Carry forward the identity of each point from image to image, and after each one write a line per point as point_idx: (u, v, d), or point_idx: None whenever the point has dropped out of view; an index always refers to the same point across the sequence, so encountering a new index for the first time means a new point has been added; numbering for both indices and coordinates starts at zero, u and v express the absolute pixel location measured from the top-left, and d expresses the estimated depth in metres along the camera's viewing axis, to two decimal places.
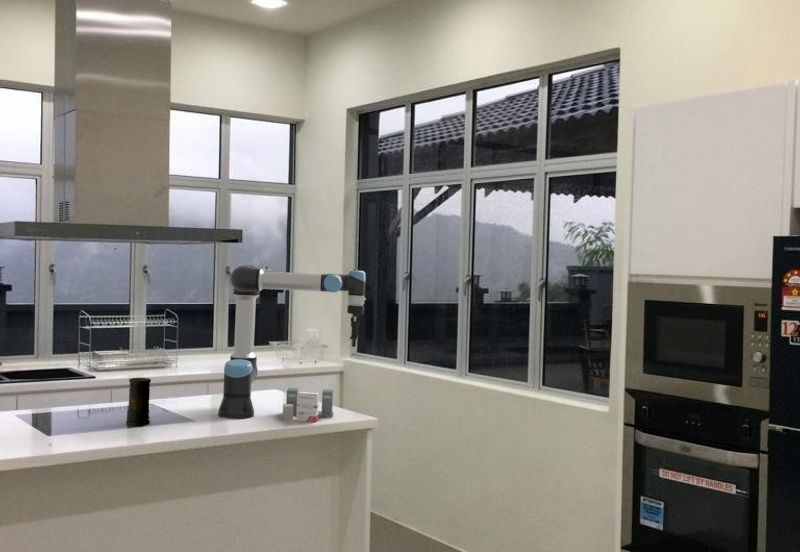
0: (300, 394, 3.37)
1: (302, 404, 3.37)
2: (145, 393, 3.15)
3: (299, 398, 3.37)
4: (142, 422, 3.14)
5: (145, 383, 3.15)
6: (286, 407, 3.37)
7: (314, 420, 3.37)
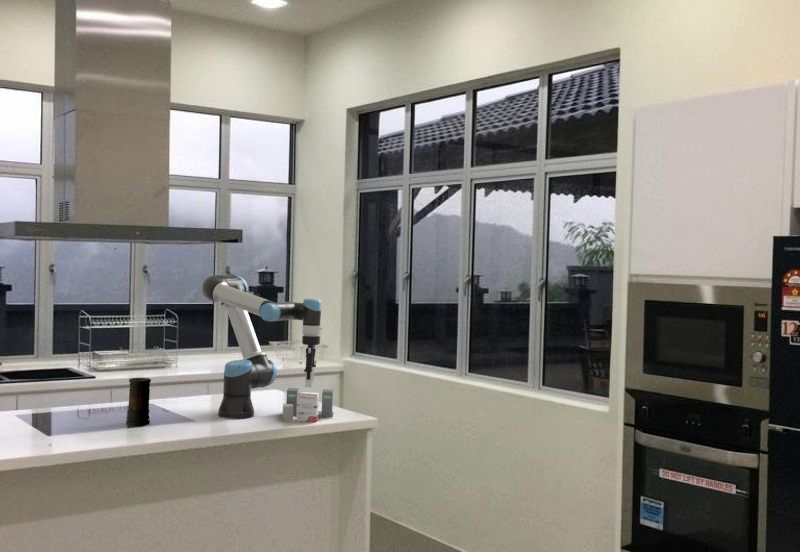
0: (300, 394, 3.37)
1: (302, 404, 3.37)
2: (145, 393, 3.15)
3: (299, 398, 3.37)
4: (142, 422, 3.14)
5: (145, 383, 3.15)
6: (286, 407, 3.37)
7: (314, 420, 3.37)
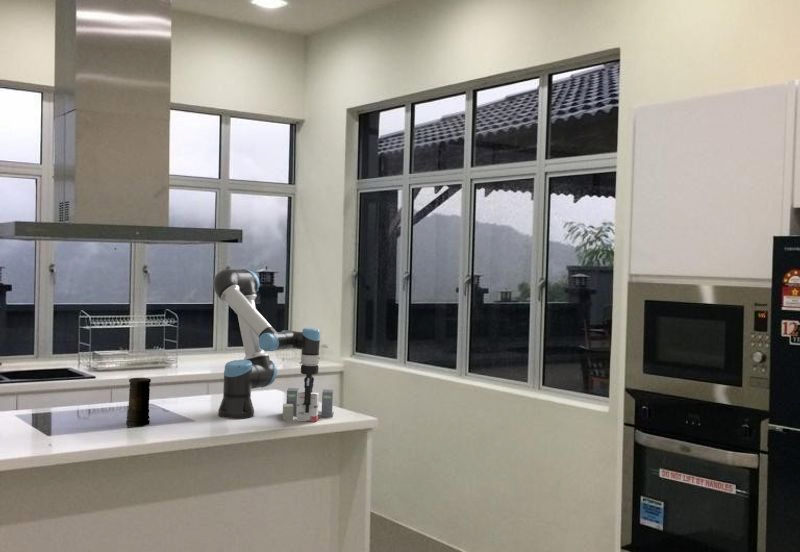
0: (300, 394, 3.37)
1: (302, 404, 3.37)
2: (145, 393, 3.15)
3: (299, 398, 3.37)
4: (142, 422, 3.14)
5: (145, 383, 3.15)
6: (286, 407, 3.37)
7: (314, 420, 3.37)
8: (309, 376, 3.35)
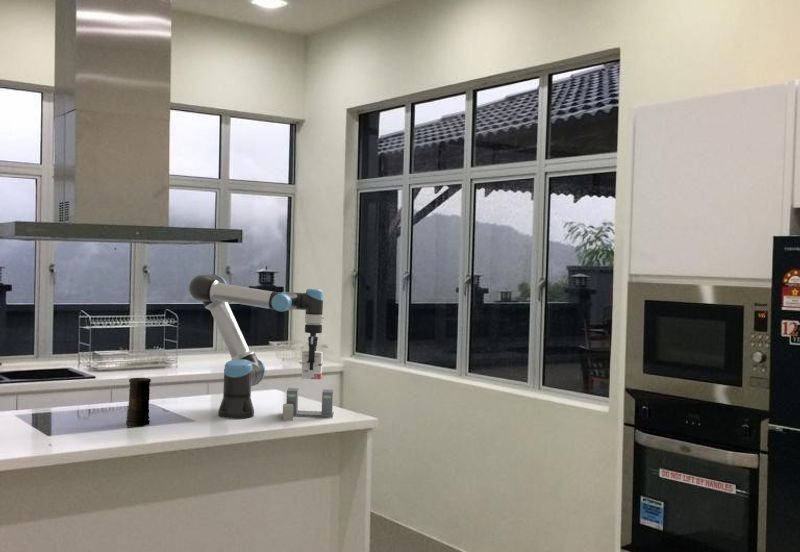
0: (305, 353, 3.48)
1: (307, 363, 3.48)
2: (145, 393, 3.15)
3: (304, 356, 3.48)
4: (142, 422, 3.14)
5: (145, 383, 3.15)
6: (286, 407, 3.37)
7: (319, 377, 3.48)
8: (313, 335, 3.46)
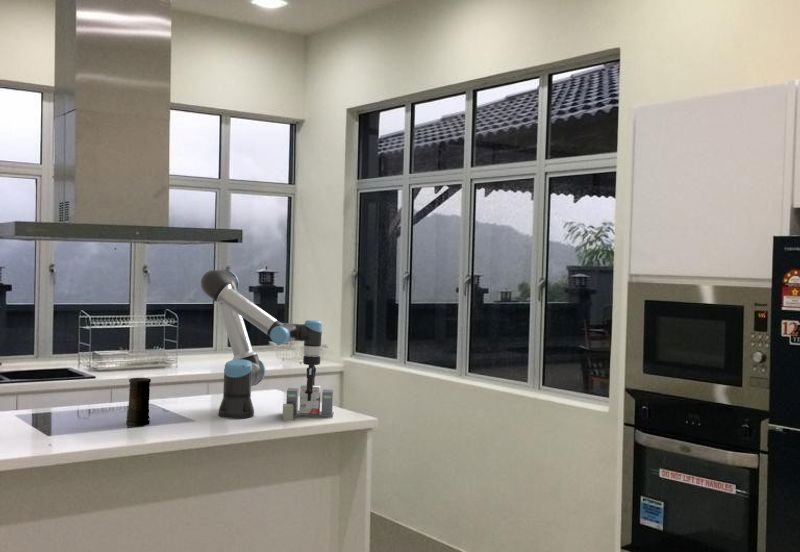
0: (303, 387, 3.49)
1: (305, 397, 3.49)
2: (145, 393, 3.15)
3: (302, 391, 3.49)
4: (142, 422, 3.14)
5: (145, 383, 3.15)
6: (286, 407, 3.37)
7: (317, 412, 3.49)
8: (311, 366, 3.47)
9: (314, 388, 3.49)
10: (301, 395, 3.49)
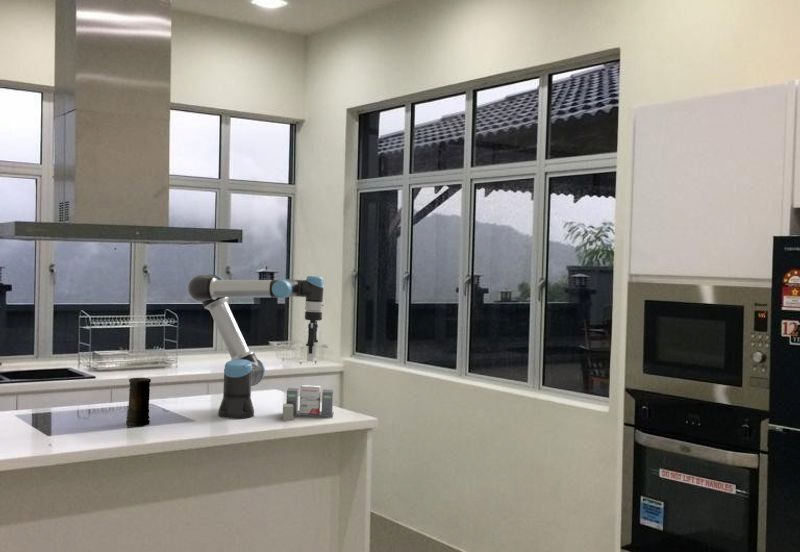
0: (303, 387, 3.49)
1: (305, 397, 3.49)
2: (145, 393, 3.15)
3: (302, 391, 3.49)
4: (142, 422, 3.14)
5: (145, 383, 3.15)
6: (286, 407, 3.37)
7: (317, 412, 3.49)
8: None
9: (314, 388, 3.49)
10: (301, 395, 3.49)
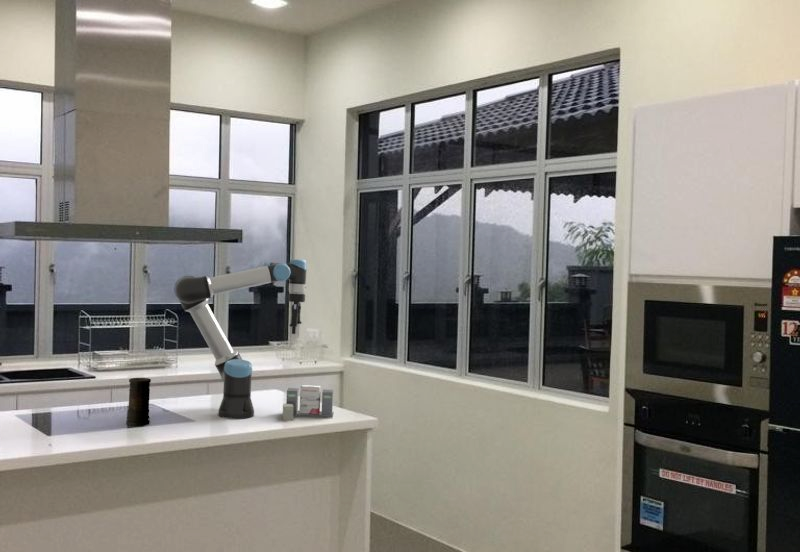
0: (303, 387, 3.49)
1: (305, 397, 3.49)
2: (145, 393, 3.15)
3: (302, 391, 3.49)
4: (142, 422, 3.14)
5: (145, 383, 3.15)
6: (286, 407, 3.37)
7: (317, 412, 3.49)
8: None
9: (314, 388, 3.49)
10: (301, 395, 3.49)
